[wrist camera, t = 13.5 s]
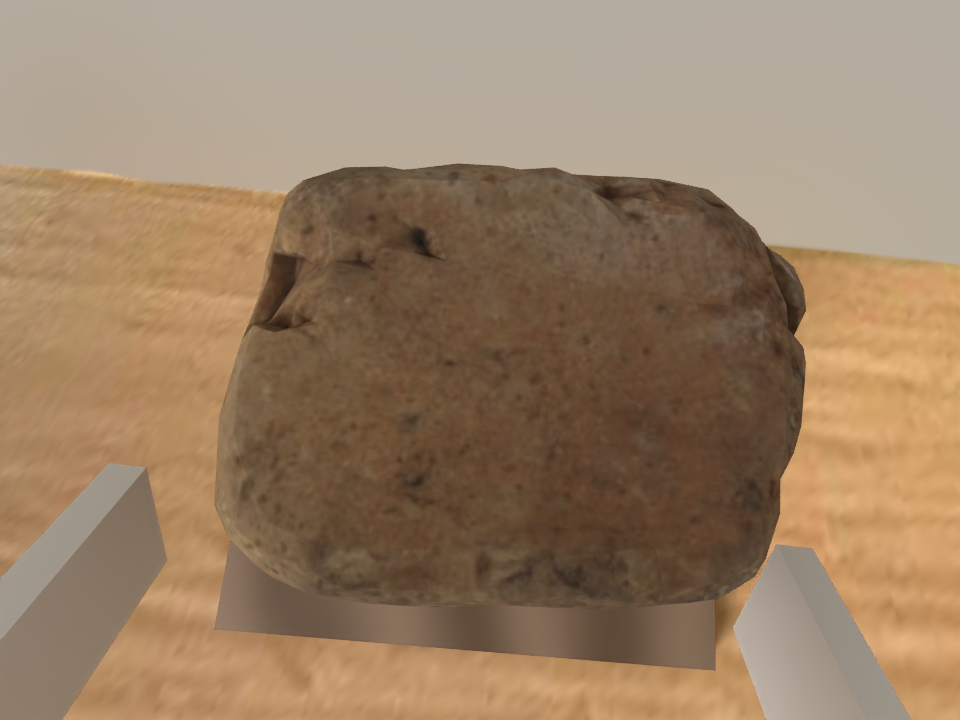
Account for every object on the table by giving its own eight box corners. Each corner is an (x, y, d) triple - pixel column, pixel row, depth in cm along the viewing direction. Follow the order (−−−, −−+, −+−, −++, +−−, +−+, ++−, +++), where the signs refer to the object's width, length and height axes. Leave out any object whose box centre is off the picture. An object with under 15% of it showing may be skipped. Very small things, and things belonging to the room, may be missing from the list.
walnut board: (701, 297, 31) (713, 287, 30) (701, 661, 27) (715, 670, 26) (291, 256, 31) (282, 244, 29) (227, 621, 26) (214, 629, 25)
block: (362, 520, 26) (115, 633, 7) (380, 359, 28) (222, 69, 8) (598, 537, 27) (1014, 690, 7) (603, 377, 28) (954, 143, 9)
